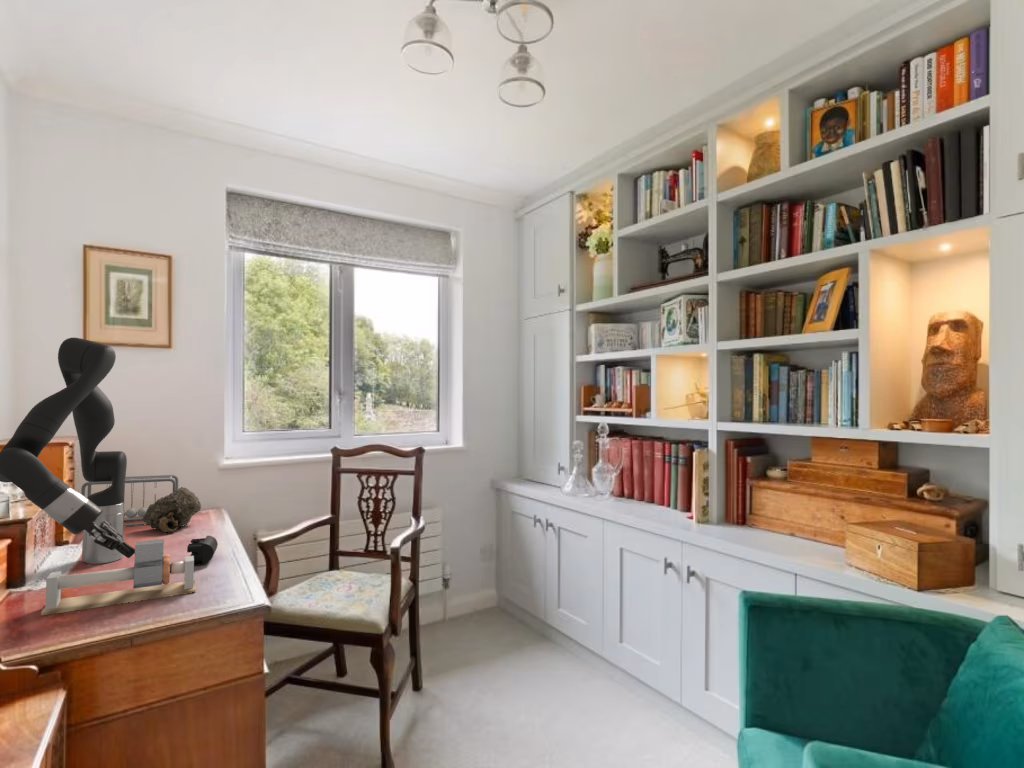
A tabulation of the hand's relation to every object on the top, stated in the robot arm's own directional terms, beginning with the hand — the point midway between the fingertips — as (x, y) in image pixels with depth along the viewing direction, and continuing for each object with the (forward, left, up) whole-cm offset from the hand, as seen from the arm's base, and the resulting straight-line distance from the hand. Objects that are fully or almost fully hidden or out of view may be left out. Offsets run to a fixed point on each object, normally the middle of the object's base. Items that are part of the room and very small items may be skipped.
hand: (132, 554), depth 139 cm
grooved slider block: (+3, +2, -8) cm, 9 cm away
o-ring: (+6, +4, -8) cm, 11 cm away
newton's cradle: (-50, +75, -11) cm, 91 cm away
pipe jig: (-1, -1, -11) cm, 11 cm away
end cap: (+2, +30, -11) cm, 32 cm away
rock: (-30, +67, -11) cm, 74 cm away
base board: (-1, -1, -11) cm, 11 cm away
